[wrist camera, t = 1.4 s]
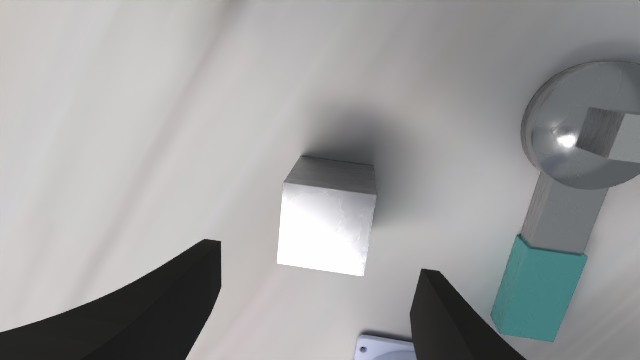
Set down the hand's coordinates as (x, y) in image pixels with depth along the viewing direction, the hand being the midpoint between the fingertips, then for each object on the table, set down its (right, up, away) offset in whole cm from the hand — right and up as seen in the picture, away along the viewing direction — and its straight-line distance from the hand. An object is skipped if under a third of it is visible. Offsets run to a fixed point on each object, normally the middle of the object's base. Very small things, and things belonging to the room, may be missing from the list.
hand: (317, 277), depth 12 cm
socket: (+1, +3, +9) cm, 10 cm away
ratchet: (+14, +2, +8) cm, 16 cm away
